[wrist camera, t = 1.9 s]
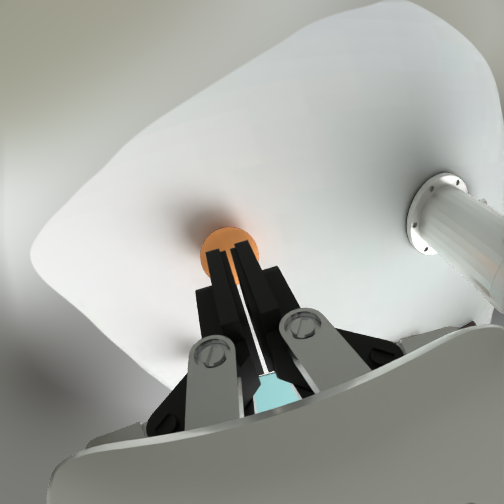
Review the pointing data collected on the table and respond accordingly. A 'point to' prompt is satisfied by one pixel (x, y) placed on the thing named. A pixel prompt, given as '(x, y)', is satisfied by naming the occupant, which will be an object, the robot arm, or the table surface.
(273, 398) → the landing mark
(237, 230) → the ball
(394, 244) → the table surface
